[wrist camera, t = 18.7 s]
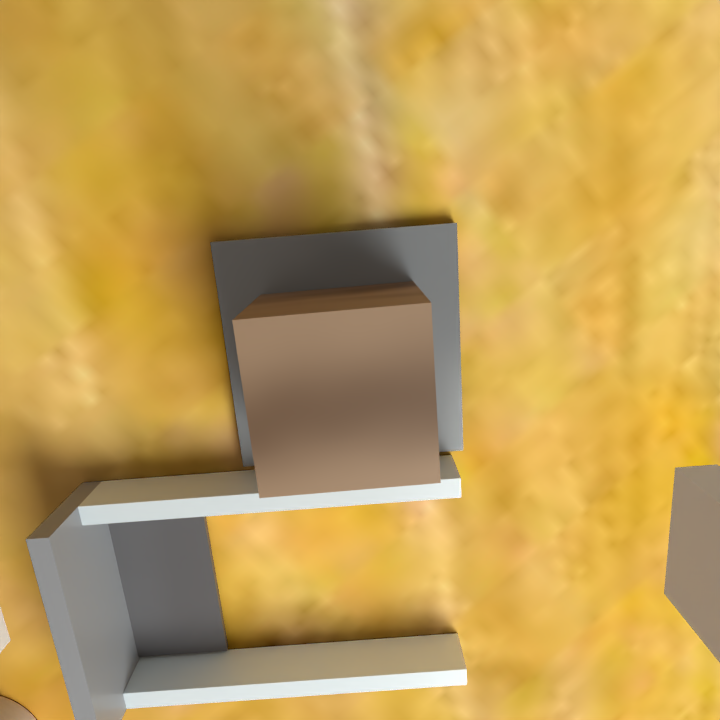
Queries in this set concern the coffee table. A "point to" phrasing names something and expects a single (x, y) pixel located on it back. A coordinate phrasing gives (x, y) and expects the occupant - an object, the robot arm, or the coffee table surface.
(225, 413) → the coffee table surface
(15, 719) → the coffee cup
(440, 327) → the slate coaster
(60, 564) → the channel
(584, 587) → the coffee table surface
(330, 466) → the walnut block
